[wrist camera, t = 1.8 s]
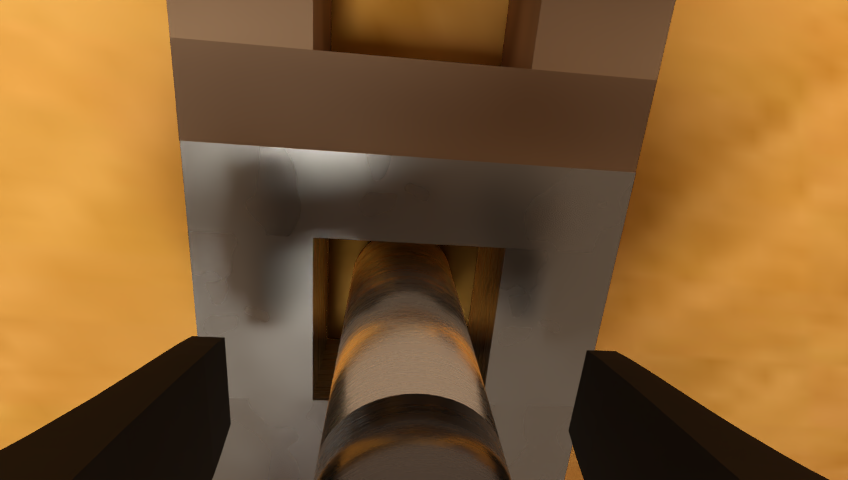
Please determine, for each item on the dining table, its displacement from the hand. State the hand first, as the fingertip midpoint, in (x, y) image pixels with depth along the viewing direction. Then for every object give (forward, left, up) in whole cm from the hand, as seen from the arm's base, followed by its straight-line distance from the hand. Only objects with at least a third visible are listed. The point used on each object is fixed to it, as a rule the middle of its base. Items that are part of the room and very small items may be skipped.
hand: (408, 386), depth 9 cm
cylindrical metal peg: (0, 0, -5) cm, 5 cm away
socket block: (-1, +2, -5) cm, 6 cm away
